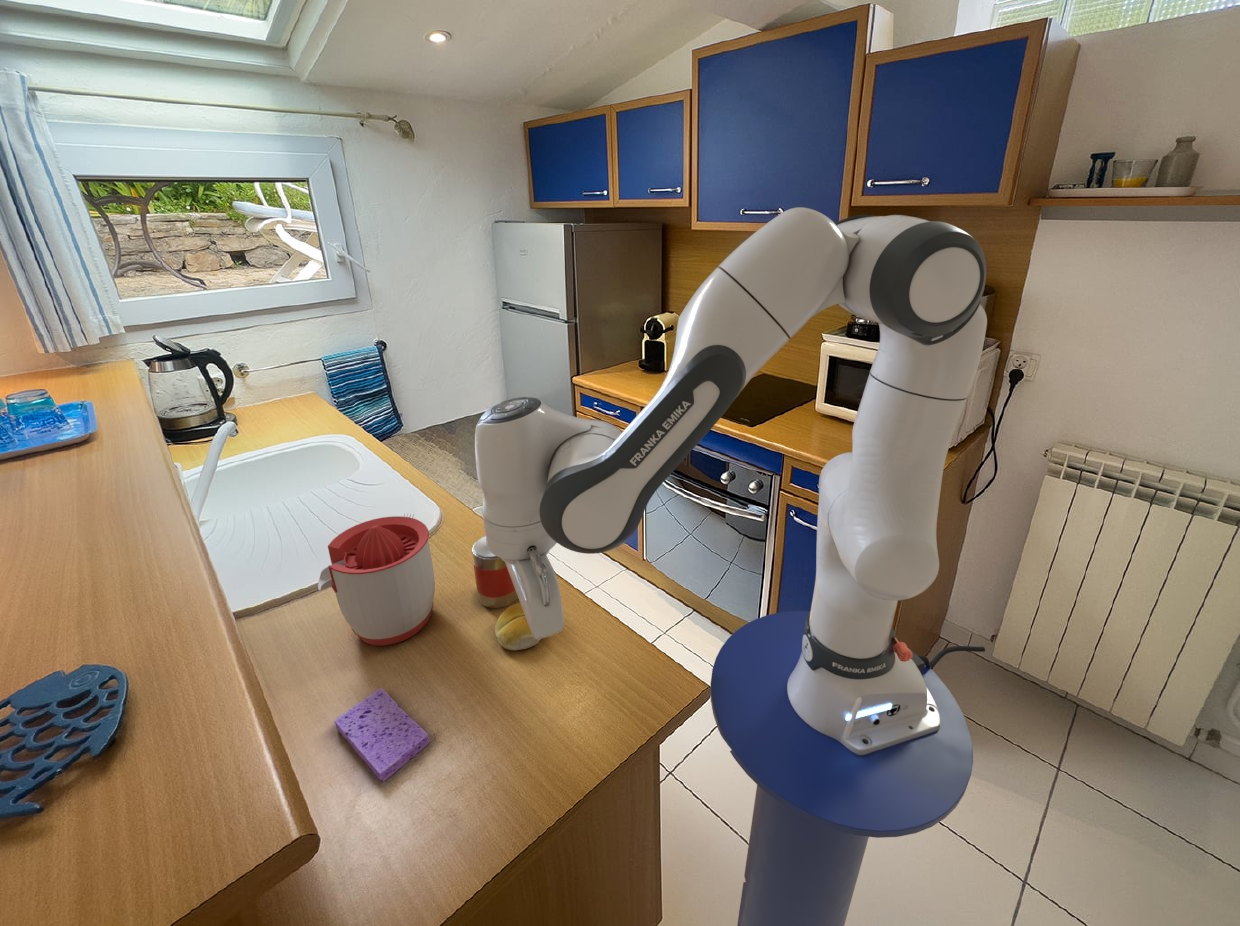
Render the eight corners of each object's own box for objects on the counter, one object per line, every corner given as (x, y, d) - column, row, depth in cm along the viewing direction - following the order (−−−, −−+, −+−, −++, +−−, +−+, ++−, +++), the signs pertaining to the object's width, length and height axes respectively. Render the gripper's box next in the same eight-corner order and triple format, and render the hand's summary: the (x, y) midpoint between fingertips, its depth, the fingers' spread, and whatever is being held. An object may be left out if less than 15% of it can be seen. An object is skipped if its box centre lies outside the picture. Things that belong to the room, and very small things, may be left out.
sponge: (383, 695, 81) (381, 686, 80) (431, 743, 74) (429, 733, 73) (335, 729, 76) (332, 719, 75) (382, 784, 69) (379, 774, 68)
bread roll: (539, 608, 98) (537, 591, 97) (549, 644, 91) (547, 625, 89) (492, 620, 96) (490, 602, 94) (498, 657, 88) (496, 638, 86)
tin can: (522, 579, 106) (518, 531, 101) (518, 607, 99) (513, 556, 94) (482, 581, 105) (475, 533, 101) (474, 610, 98) (467, 559, 94)
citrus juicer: (332, 612, 97) (306, 518, 89) (434, 582, 105) (418, 492, 97) (335, 675, 84) (305, 572, 76) (450, 635, 92) (433, 537, 84)
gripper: (574, 568, 58) (580, 663, 64) (527, 484, 75) (535, 565, 81) (516, 585, 56) (527, 683, 61) (481, 494, 73) (492, 577, 78)
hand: (531, 615), depth 71 cm, fingers closed
